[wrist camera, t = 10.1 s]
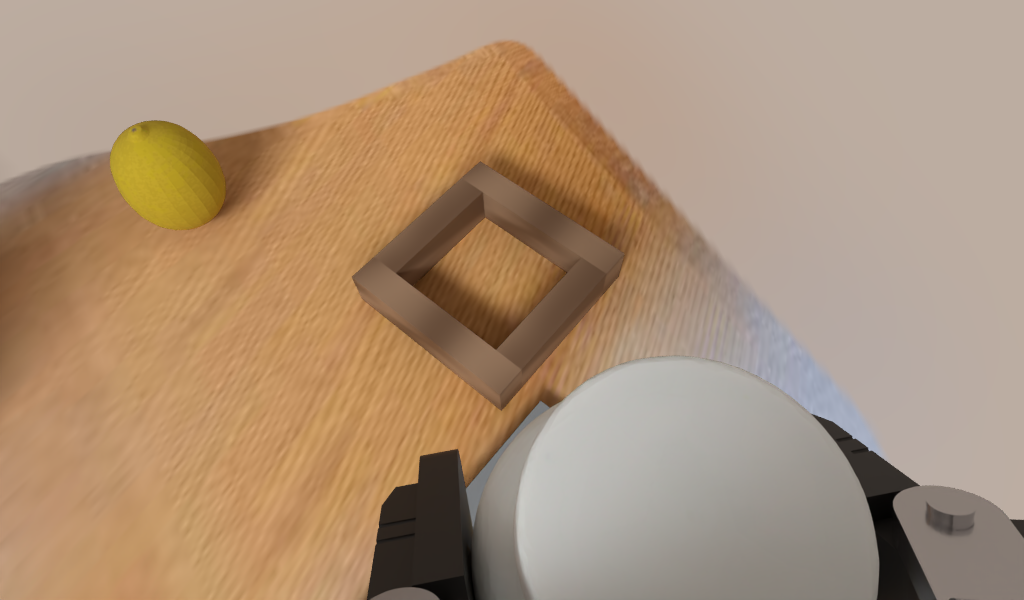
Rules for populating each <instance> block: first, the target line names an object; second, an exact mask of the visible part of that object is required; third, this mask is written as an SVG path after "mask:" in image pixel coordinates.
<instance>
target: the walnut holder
mask: <svg viewBox="0 0 1024 600" xmlns="http://www.w3.org/2000/svg"><path fill="white" fill-rule="evenodd" d="M484 217H486V218H488V219H489V220H491V221H492V222H493V223H495V224H496V225H498V226H499V227H501V228H502V229H504V230H505V231H507V232H508V233H510V234H511V235H513V236H514V237H516V238H517V239H519V240H520V241H522V242H523V243H525V244H526V245H527V246H529V247H530V248H532V249H533V250H535V251H536V252H538V253H539V254H541V255H542V256H544V257H545V258H547V259H548V260H550V261H551V262H553V263H554V264H556V265H557V266H558V267H560V268H561V269H563V270H564V271H566V272H567V274H566V275H565V276H564V277H563V278H562V279H561V280H560V281H559V282H558V283H557V284H556V286H555V287H554V288H553V289H552V290H551V291H550V292H549V293H548V294H547V295H546V296H545V297H544V299H543V300H542V301H541V302H540V303H539V304H538V305H537V306H536V307H535V308H534V309H533V310H532V312H531V313H530V314H529V315H528V316H527V317H526V318H525V319H524V320H523V321H522V322H521V324H520V325H519V326H518V327H517V328H516V329H515V330H514V331H513V332H512V333H511V334H510V335H509V337H508V338H507V339H506V340H505V341H504V342H503V343H502V344H501V345H500V346H499V347H498V348H497V350H495V349H494V348H493V347H491V346H490V345H489V344H487V343H486V342H485V341H484V340H482V339H481V338H480V337H478V336H477V335H476V334H474V333H473V332H472V331H470V330H469V329H468V328H467V327H465V326H464V325H463V324H461V323H460V322H459V321H457V320H456V319H455V318H453V317H452V316H451V315H450V314H448V313H447V312H446V311H444V310H443V309H442V308H440V307H439V306H438V305H436V304H435V303H434V302H433V301H431V300H430V299H429V298H427V297H426V296H425V295H423V294H422V293H421V292H419V291H418V290H417V289H416V288H414V287H413V285H414V284H415V283H416V282H417V281H418V280H420V279H421V278H422V277H423V276H424V275H425V274H426V273H427V272H428V271H429V270H430V269H431V268H432V267H433V266H434V265H435V264H436V263H437V262H438V261H439V260H440V259H442V258H443V257H444V256H445V255H446V254H447V253H448V252H449V251H450V250H451V249H452V248H453V247H454V246H455V245H456V244H457V243H458V242H459V241H460V240H461V239H462V238H464V237H465V236H466V235H467V234H468V233H469V232H470V231H471V230H472V229H473V228H474V227H475V226H476V225H477V224H478V223H479V222H480V221H481V220H482V219H483V218H484ZM623 257H624V253H623V252H621V251H620V250H618V249H616V248H615V247H613V246H612V245H610V244H609V243H607V242H606V241H604V240H602V239H601V238H599V237H598V236H596V235H595V234H593V233H591V232H590V231H588V230H587V229H585V228H584V227H582V226H581V225H579V224H577V223H576V222H574V221H573V220H571V219H570V218H568V217H566V216H565V215H563V214H562V213H560V212H559V211H557V210H555V209H554V208H552V207H551V206H549V205H548V204H546V203H545V202H543V201H541V200H540V199H538V198H537V197H535V196H534V195H532V194H530V193H529V192H527V191H526V190H524V189H523V188H521V187H520V186H518V185H516V184H515V183H513V182H512V181H510V180H509V179H507V178H505V177H504V176H502V175H501V174H499V173H498V172H496V171H495V170H493V169H491V168H490V167H488V166H487V165H485V164H484V163H482V162H479V163H478V164H477V165H476V166H474V167H473V168H472V169H471V170H470V171H469V172H468V173H467V174H466V175H464V176H463V177H462V178H461V179H460V180H459V181H458V182H457V183H456V184H454V185H453V186H452V187H451V188H450V189H449V190H448V191H447V192H446V193H444V194H443V195H442V196H441V197H440V198H439V199H438V200H437V201H436V202H435V203H433V204H432V205H431V206H430V207H429V208H428V209H427V210H426V211H425V212H423V213H422V214H421V215H420V216H419V217H418V218H417V219H416V220H415V221H413V222H412V223H411V224H410V225H409V226H408V227H407V228H406V229H405V230H403V231H402V232H401V233H400V234H399V235H398V236H397V237H396V238H395V239H393V240H392V241H391V242H390V243H389V244H388V245H387V246H386V247H385V248H383V249H382V250H381V251H380V252H379V253H378V254H377V255H376V256H375V257H373V258H372V259H371V260H370V261H369V262H368V263H367V264H366V265H365V266H363V267H362V268H361V269H360V270H359V271H358V272H357V273H356V274H355V275H353V276H352V279H353V281H354V283H355V285H356V287H357V289H358V291H359V293H360V295H361V297H362V299H363V300H364V301H366V302H367V303H368V304H369V305H371V306H372V307H373V308H374V309H376V310H377V311H378V312H379V313H381V314H382V315H383V316H384V317H386V318H387V319H388V320H389V321H391V322H392V323H393V324H394V325H396V326H397V327H398V328H399V329H401V330H402V331H403V332H404V333H405V334H407V335H408V336H409V337H410V338H412V339H413V340H414V341H415V342H417V343H418V344H419V345H420V346H422V347H423V348H424V349H425V350H427V351H428V352H429V353H430V354H432V355H433V356H434V357H435V358H437V359H438V360H439V361H440V362H442V363H443V364H444V365H445V366H447V367H448V368H449V369H450V370H452V371H453V372H454V373H455V374H457V375H458V376H459V377H460V378H461V379H463V380H464V381H465V382H466V383H468V384H469V385H470V386H471V387H473V388H474V389H475V390H476V391H478V392H479V393H480V394H481V395H483V396H484V397H485V398H486V399H488V400H489V401H490V402H491V403H493V404H494V405H495V406H496V407H498V408H499V409H500V410H501V411H502V409H503V408H504V407H505V406H506V405H507V404H508V403H509V401H510V400H511V399H512V398H513V397H514V396H515V395H516V393H517V392H518V391H519V390H520V389H521V388H522V386H523V385H524V384H525V383H526V382H527V381H528V380H529V378H530V377H531V376H532V375H533V374H534V373H535V372H536V370H537V369H538V368H539V367H540V366H541V365H542V364H543V362H544V361H545V360H546V359H547V358H548V357H549V356H550V354H551V353H552V352H553V351H554V350H555V349H556V348H557V346H558V345H559V344H560V343H561V342H562V341H563V340H564V338H565V337H566V336H567V335H568V334H569V333H570V332H571V330H572V329H573V328H574V327H575V326H576V325H577V323H578V322H579V321H580V320H581V319H582V318H583V317H584V315H585V314H586V313H587V312H588V311H589V310H590V309H591V307H592V306H593V305H594V304H595V303H596V302H597V301H598V299H599V298H600V297H601V296H602V295H603V294H604V293H605V291H606V290H607V289H608V288H609V287H610V286H611V285H612V283H613V282H614V281H615V280H616V279H617V278H618V277H619V273H620V269H621V265H622V261H623Z"/></svg>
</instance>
